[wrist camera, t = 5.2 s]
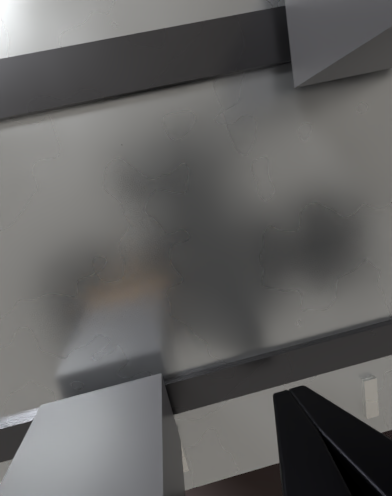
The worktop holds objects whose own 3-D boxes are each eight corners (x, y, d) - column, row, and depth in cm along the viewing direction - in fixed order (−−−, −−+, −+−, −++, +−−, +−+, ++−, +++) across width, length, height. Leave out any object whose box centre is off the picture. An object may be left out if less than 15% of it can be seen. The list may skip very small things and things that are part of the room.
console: (395, -112, 8) (556, -307, 5) (406, 371, 12) (497, 442, 8) (-471, 29, 6) (-1073, -109, 3) (-125, 520, 10) (-248, 669, 7)
